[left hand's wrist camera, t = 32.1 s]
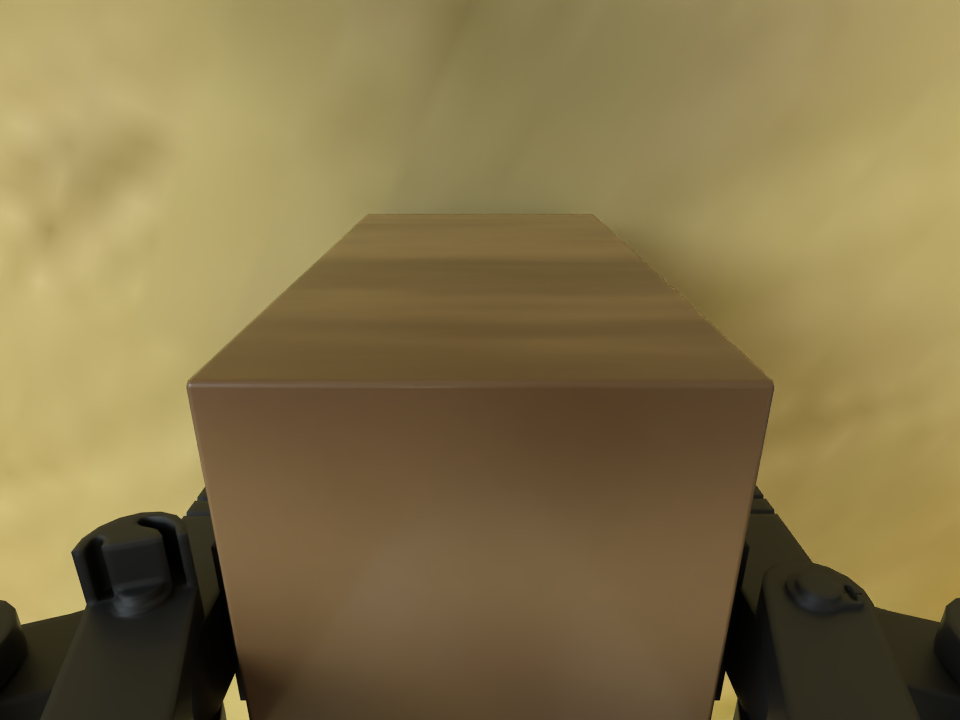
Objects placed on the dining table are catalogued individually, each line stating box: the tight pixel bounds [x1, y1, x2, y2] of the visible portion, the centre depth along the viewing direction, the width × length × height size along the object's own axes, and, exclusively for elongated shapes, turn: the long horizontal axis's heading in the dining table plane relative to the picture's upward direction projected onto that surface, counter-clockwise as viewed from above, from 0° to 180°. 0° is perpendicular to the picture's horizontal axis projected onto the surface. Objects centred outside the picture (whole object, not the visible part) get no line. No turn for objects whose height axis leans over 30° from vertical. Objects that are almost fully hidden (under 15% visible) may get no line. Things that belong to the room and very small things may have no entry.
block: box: [187, 214, 774, 720], centre depth 12 cm, size 9×5×10 cm, turn 0°
